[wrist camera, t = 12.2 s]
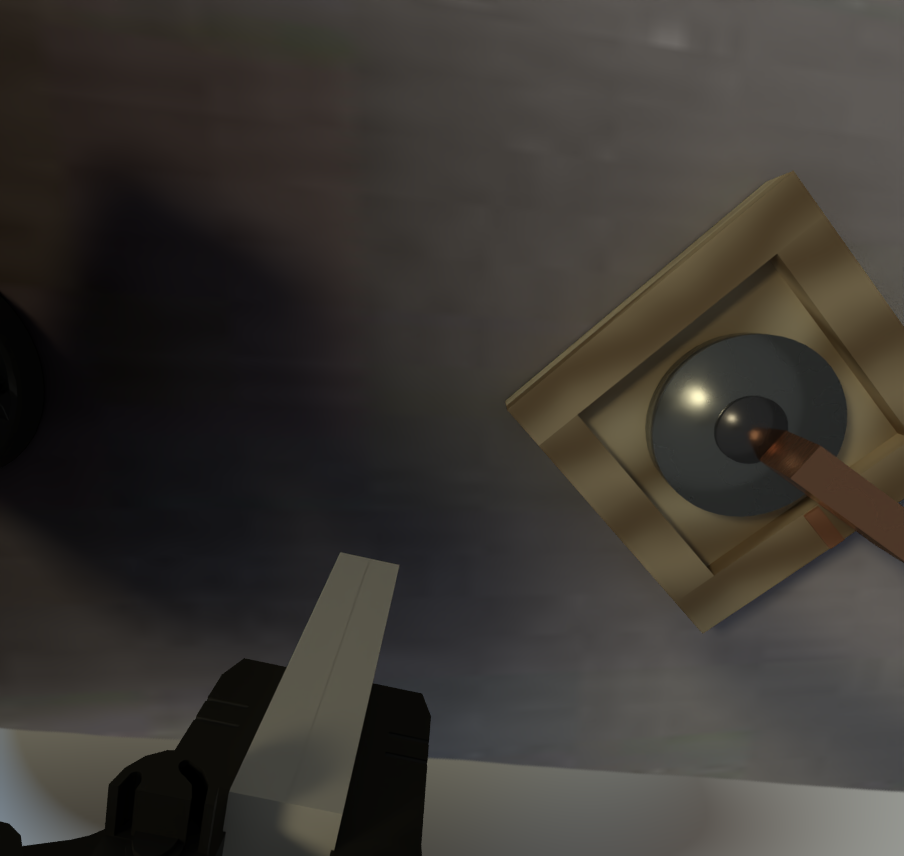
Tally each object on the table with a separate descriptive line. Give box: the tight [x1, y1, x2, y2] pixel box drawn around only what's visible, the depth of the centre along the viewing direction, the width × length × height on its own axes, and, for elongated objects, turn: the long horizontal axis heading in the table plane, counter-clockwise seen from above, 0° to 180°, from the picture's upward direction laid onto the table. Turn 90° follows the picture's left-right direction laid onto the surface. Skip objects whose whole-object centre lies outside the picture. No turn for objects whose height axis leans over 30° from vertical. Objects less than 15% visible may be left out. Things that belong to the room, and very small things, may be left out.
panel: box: [505, 171, 904, 634], centre depth 34 cm, size 20×20×3 cm
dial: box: [645, 332, 904, 563], centre depth 31 cm, size 16×11×5 cm, turn 55°
